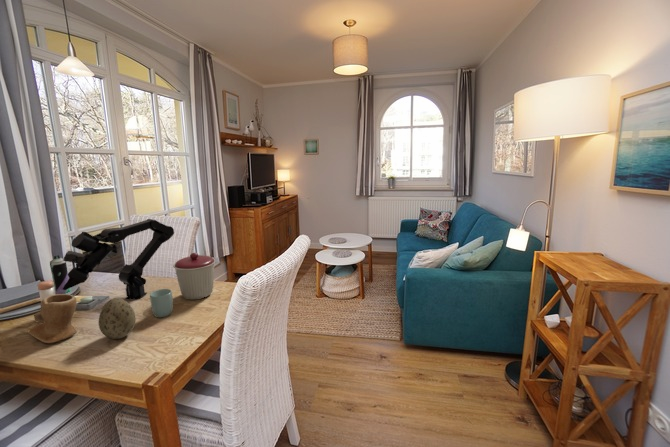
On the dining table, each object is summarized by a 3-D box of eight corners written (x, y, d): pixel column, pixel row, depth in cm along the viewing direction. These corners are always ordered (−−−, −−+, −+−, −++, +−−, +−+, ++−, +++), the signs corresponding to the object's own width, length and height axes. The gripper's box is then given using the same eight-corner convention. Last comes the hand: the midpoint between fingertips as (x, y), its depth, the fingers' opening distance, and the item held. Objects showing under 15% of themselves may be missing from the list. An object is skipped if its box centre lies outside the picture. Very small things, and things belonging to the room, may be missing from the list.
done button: (94, 299, 135) (94, 296, 135) (87, 303, 131) (87, 300, 131) (85, 299, 135) (85, 296, 135) (78, 303, 131) (77, 300, 131)
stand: (68, 313, 127) (66, 306, 127) (52, 321, 121) (51, 314, 120) (51, 313, 127) (49, 306, 127) (35, 321, 121) (33, 314, 120)
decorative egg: (128, 325, 118) (123, 289, 115) (143, 334, 113) (138, 296, 110) (95, 339, 109) (89, 300, 106) (110, 349, 104) (104, 308, 101)
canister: (172, 294, 146) (167, 252, 142) (210, 284, 158) (207, 245, 153) (182, 307, 133) (177, 262, 128) (223, 296, 144) (220, 253, 140)
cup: (176, 314, 127) (174, 292, 125) (156, 321, 121) (153, 298, 119) (169, 308, 132) (167, 287, 130) (149, 315, 126) (147, 292, 124)
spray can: (62, 299, 140) (54, 257, 136) (53, 298, 141) (45, 256, 137) (74, 294, 145) (67, 254, 141) (65, 293, 146) (58, 253, 142)
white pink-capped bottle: (61, 307, 126) (56, 280, 123) (51, 313, 121) (45, 285, 119) (50, 307, 126) (44, 280, 123) (39, 313, 121) (33, 285, 119)
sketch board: (109, 297, 142) (108, 293, 142) (89, 309, 130) (88, 305, 130) (75, 297, 142) (74, 293, 142) (51, 309, 130) (50, 305, 130)
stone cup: (87, 332, 114) (81, 295, 111) (46, 349, 103) (37, 308, 100) (68, 321, 121) (62, 286, 118) (28, 336, 110) (20, 298, 107)
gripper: (82, 239, 131) (53, 267, 128) (70, 250, 115) (37, 282, 112) (107, 253, 137) (80, 281, 134) (99, 266, 121) (68, 298, 118)
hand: (67, 285), depth 124 cm, fingers open, 9 cm apart
